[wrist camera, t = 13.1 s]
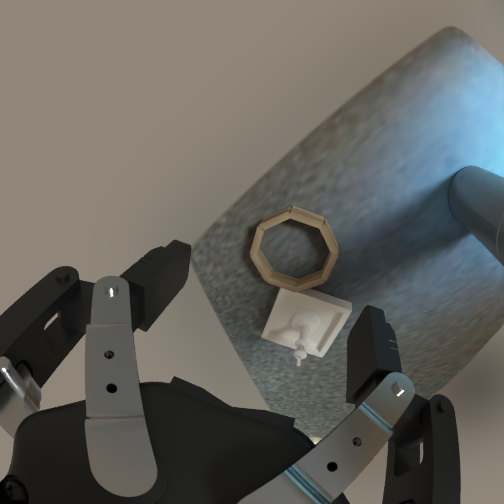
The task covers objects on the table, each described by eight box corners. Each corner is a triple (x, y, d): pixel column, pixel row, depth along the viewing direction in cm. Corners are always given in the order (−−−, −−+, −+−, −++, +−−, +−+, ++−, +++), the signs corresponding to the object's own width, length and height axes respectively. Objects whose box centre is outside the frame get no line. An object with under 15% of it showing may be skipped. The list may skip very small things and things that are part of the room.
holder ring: (347, 225, 37) (348, 231, 35) (318, 291, 43) (317, 300, 41) (267, 197, 38) (264, 202, 36) (248, 266, 44) (243, 274, 42)
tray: (351, 302, 42) (352, 310, 40) (323, 349, 48) (322, 357, 46) (283, 279, 44) (281, 286, 42) (263, 329, 49) (260, 337, 48)
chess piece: (291, 331, 47) (281, 373, 38) (291, 309, 45) (280, 352, 36) (319, 332, 45) (314, 376, 37) (320, 310, 43) (316, 354, 35)
